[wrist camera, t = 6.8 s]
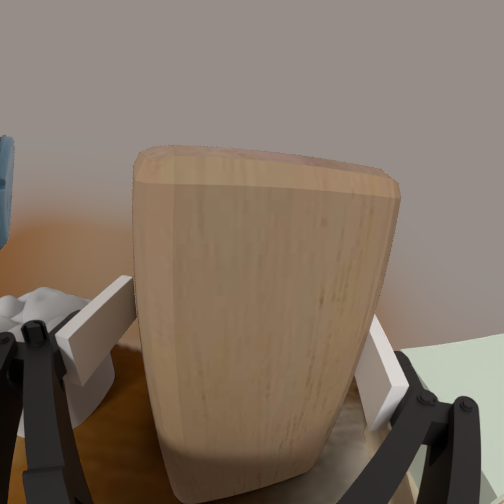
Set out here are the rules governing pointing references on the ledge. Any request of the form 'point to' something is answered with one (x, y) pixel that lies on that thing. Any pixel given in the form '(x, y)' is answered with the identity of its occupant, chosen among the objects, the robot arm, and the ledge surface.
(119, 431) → the ledge surface
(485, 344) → the tower top
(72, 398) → the lumpy-topped squat cylinder
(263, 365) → the block
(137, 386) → the ledge surface
